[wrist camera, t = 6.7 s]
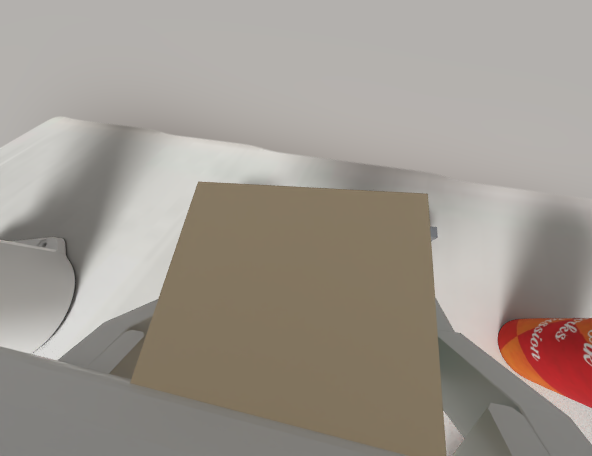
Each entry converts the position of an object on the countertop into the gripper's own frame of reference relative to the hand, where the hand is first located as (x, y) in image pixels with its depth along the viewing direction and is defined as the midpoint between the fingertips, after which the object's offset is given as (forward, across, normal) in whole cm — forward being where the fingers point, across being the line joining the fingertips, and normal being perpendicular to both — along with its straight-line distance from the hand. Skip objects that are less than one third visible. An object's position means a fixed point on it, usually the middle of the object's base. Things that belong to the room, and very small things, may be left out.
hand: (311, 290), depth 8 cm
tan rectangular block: (+3, 0, +4) cm, 5 cm away
